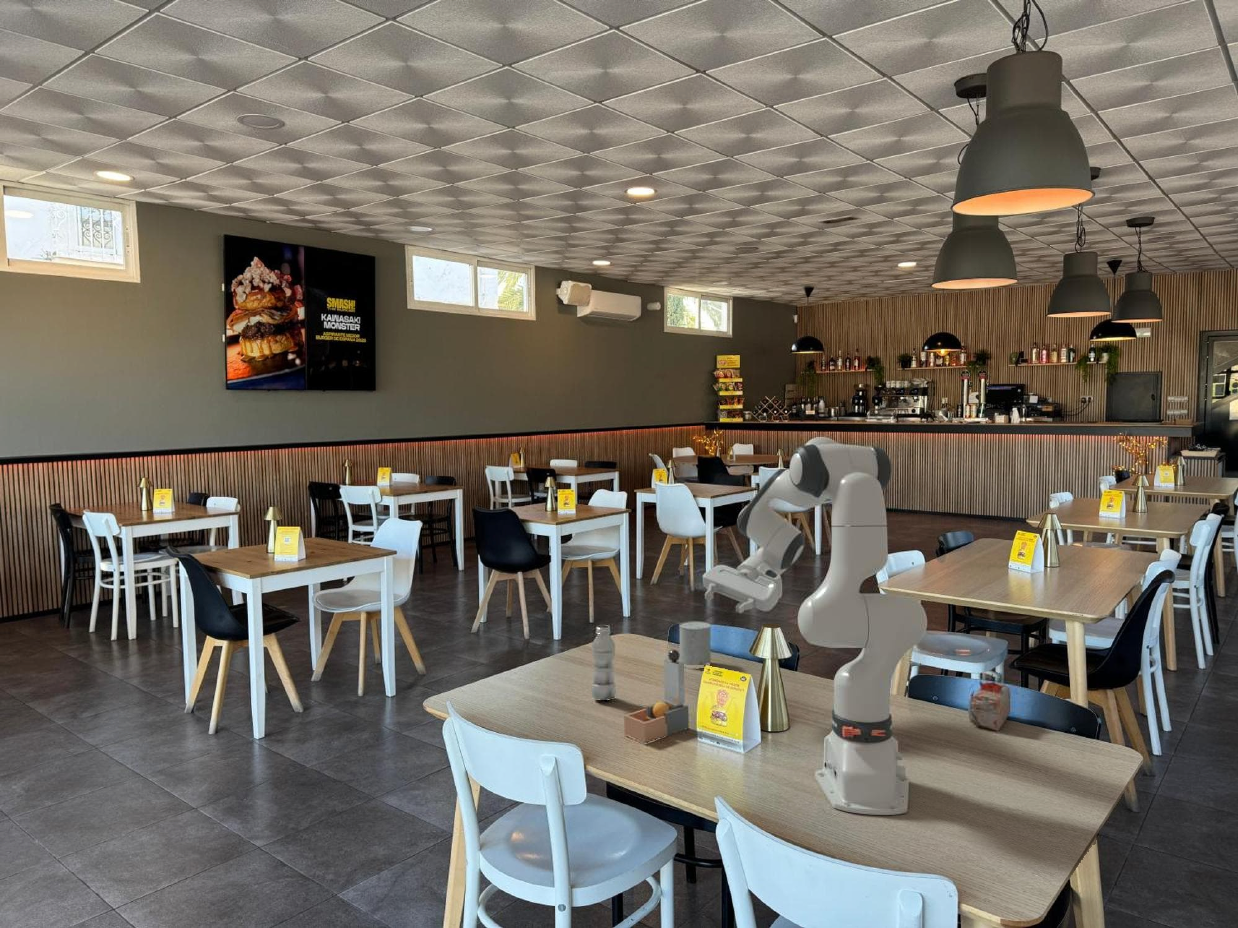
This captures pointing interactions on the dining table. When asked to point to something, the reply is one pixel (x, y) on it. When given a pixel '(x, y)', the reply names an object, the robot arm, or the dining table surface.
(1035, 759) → the dining table surface
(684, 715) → the launcher
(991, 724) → the food item
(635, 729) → the cup
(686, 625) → the grey cylinder
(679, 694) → the grey upright post
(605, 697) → the plastic bottle
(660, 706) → the ball
